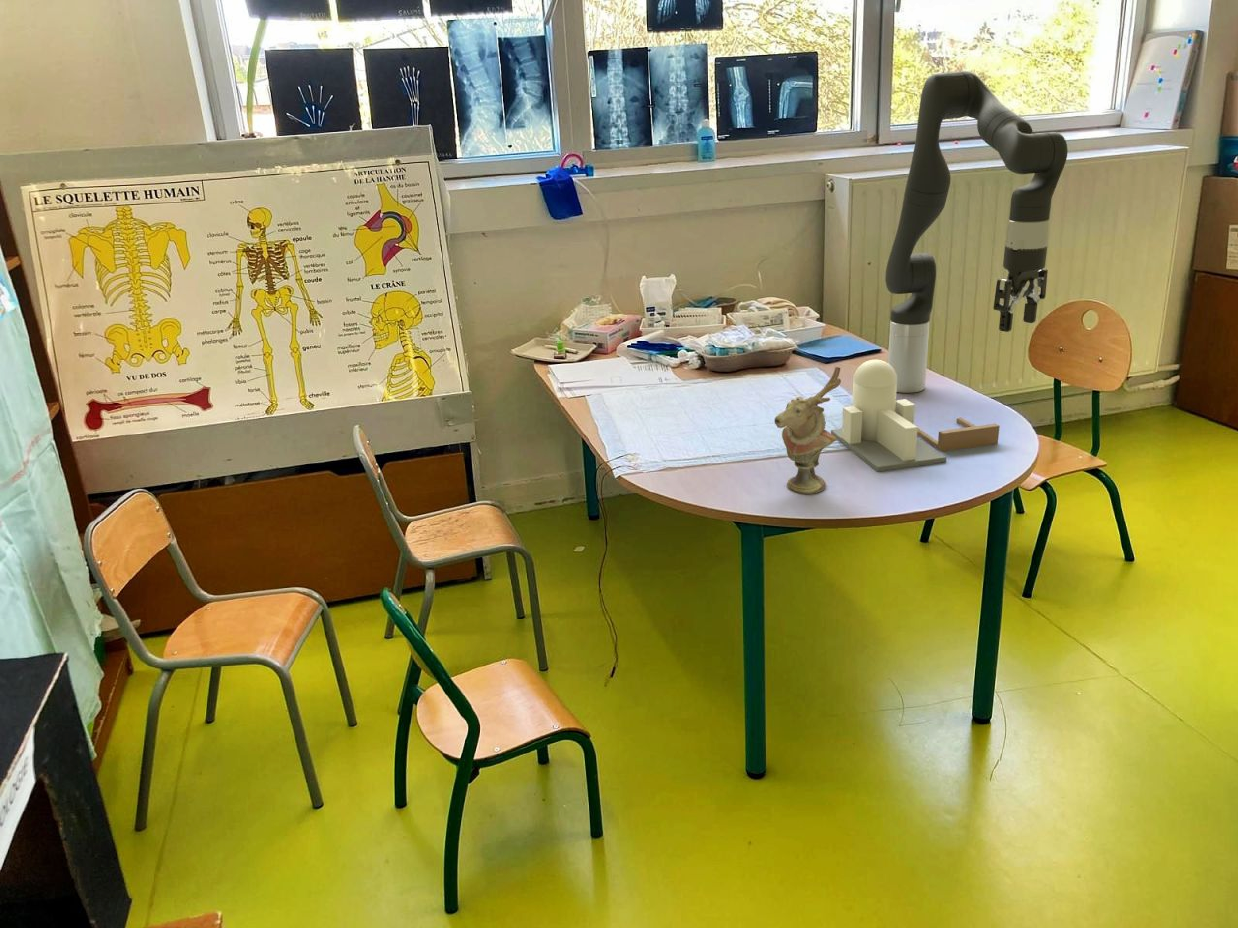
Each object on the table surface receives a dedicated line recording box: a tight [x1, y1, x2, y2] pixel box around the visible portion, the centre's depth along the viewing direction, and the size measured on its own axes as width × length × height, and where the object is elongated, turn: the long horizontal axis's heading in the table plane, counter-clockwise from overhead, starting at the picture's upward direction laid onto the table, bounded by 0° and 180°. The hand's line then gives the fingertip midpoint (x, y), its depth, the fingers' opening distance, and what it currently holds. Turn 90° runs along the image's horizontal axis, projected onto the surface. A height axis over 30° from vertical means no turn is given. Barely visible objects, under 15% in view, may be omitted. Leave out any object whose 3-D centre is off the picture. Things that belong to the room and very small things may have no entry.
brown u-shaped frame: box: [917, 417, 1000, 452], centre depth 200 cm, size 14×13×4 cm
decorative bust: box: [774, 366, 842, 495], centre depth 175 cm, size 11×13×25 cm
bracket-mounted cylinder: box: [830, 359, 947, 472], centre depth 194 cm, size 22×15×18 cm, turn 12°
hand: (1017, 326), depth 183 cm, fingers open, 8 cm apart
